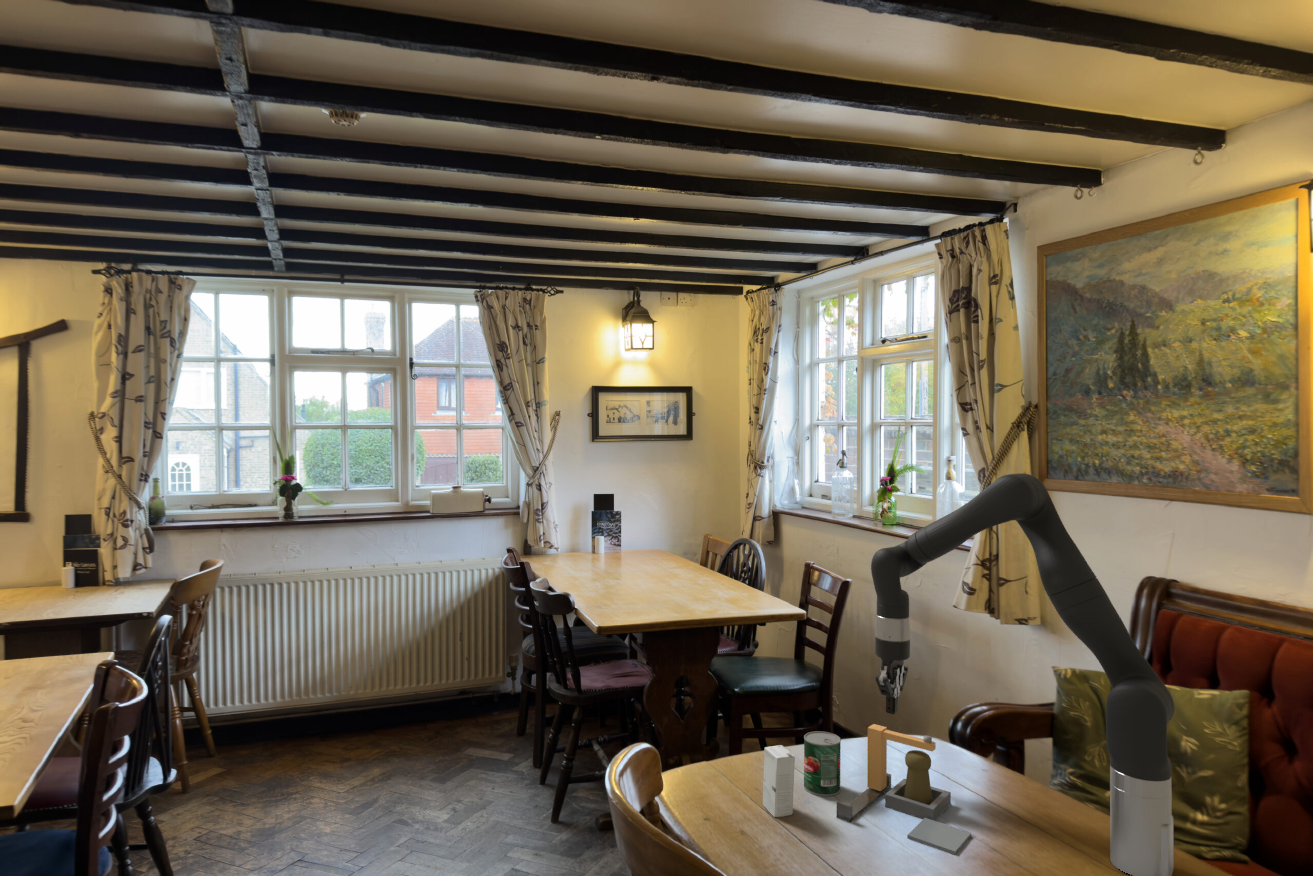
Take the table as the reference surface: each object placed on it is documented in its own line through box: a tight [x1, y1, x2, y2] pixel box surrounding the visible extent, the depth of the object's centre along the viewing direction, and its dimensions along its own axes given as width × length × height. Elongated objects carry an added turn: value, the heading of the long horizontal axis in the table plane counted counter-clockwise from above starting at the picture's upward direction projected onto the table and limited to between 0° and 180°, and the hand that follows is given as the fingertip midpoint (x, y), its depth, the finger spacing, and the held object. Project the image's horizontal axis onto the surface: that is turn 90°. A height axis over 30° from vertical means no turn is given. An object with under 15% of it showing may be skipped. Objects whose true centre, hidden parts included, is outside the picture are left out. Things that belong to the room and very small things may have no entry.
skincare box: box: [762, 744, 796, 818], centre depth 154 cm, size 6×4×12 cm
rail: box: [836, 772, 892, 823], centre depth 158 cm, size 3×20×3 cm, turn 140°
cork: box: [904, 749, 933, 805], centre depth 157 cm, size 6×6×11 cm
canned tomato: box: [803, 730, 842, 797], centre depth 164 cm, size 8×8×11 cm
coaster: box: [907, 818, 972, 856], centre depth 144 cm, size 9×9×1 cm
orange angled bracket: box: [867, 723, 937, 791], centre depth 159 cm, size 14×3×14 cm, turn 50°
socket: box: [884, 778, 952, 821], centre depth 157 cm, size 10×10×2 cm
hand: (891, 712), depth 169 cm, fingers closed
